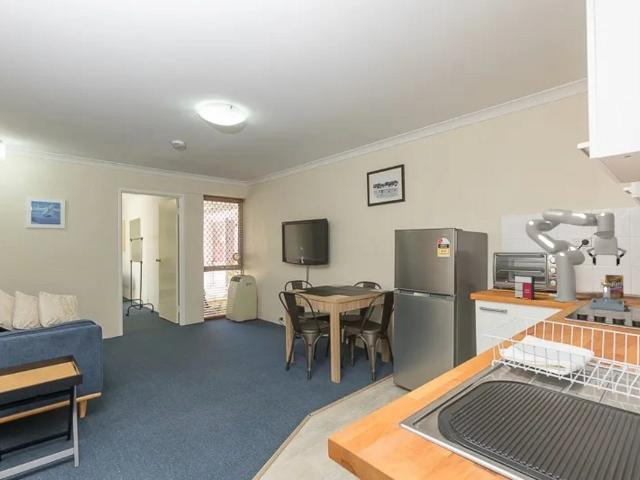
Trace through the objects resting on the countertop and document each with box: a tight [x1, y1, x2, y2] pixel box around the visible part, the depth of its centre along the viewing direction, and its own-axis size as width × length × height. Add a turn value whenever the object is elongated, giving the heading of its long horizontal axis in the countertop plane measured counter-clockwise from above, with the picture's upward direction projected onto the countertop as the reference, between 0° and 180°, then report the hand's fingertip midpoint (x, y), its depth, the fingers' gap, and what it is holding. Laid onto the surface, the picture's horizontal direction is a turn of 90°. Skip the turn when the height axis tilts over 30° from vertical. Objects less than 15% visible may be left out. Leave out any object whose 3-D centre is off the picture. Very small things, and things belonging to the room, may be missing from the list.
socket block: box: [597, 292, 621, 300], centre depth 208 cm, size 10×10×5 cm
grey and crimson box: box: [513, 274, 536, 300], centre depth 226 cm, size 11×4×15 cm, turn 37°
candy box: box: [604, 274, 625, 299], centre depth 224 cm, size 9×4×15 cm, turn 56°
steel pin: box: [600, 282, 612, 304], centre depth 193 cm, size 5×5×13 cm
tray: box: [589, 298, 625, 313], centre depth 193 cm, size 14×18×4 cm
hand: (606, 265), depth 193 cm, fingers open, 9 cm apart
